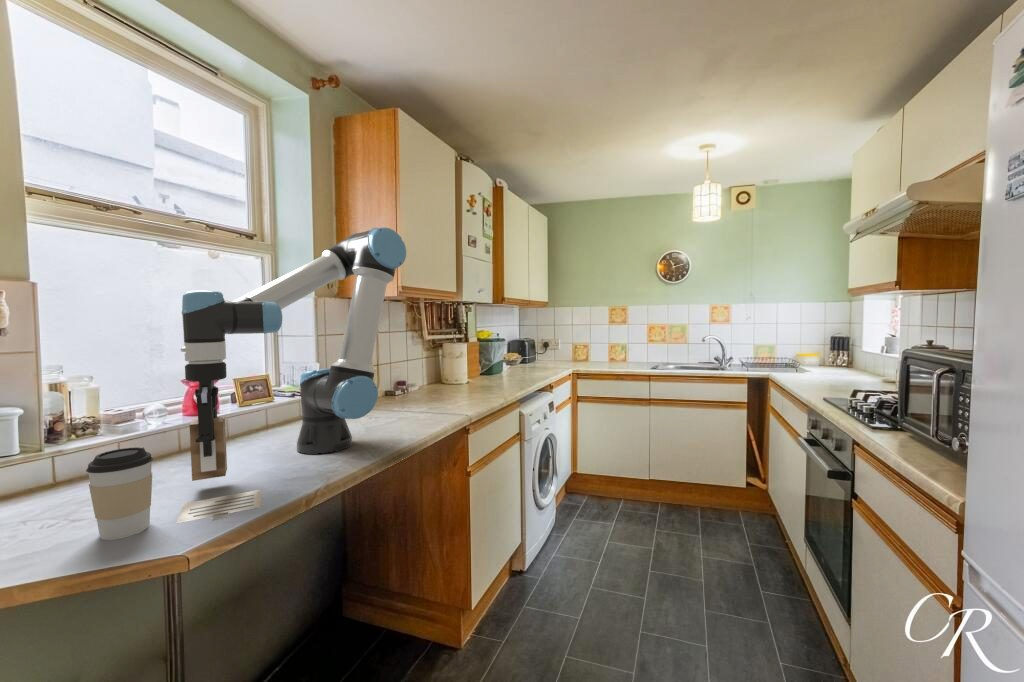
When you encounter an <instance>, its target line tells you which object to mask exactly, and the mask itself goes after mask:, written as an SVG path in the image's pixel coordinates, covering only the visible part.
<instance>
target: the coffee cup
mask: <svg viewBox="0 0 1024 682" xmlns="http://www.w3.org/2000/svg"><path fill="white" fill-rule="evenodd" d="M153 461H154V458H153V457H152V454H151V453H150V452H149V451H147V450H146V449H145V448H144V447H137V446H136V447H125V448H119V449H113V450H108V451H105V452H101V453H99V454H96V455H95V457H94V458H93V459H92V461H91V462H89V463H88V464H87V469H86V470H85V471H86V472H87V473H88V478H89V479H88V480H89V484H88V486H89V487H88V488H89V493H90V497H91V504H92V507H93V514H94V518H95V519H96V525H97V527H98V534H99V538H100V539H101V540H103V541H105V540H106V541H112V540H114V541H115V540H119V539H125V538H127V537H132V536H134V535H136V534H139V533H142V532H143V531H145V530H147V529H148V528H149V527H150V525H151V521H150V519H151V505H152V490H153V471H152V462H153Z"/></svg>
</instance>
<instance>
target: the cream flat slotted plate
mask: <svg viewBox="0 0 1024 682" xmlns="http://www.w3.org/2000/svg"><path fill="white" fill-rule="evenodd" d="M262 507H263V489H262V488H261V489H256V490H251V491H245V492H244V491H243V492H240V493H239V492H238V493H233V494H229V495H223V496H217V497H212V498H206V499H200V500H194V501H189V502H184V503H183V505H182V507H181V510H180V512H179V515H178V517H177V520H176V522H175V524H180V523H181V524H182V523H186V522H191V521H197V520H201V519H205V518H206V519H208V518H211V517H212V519H211V520H212V521H213V522H214V521H219V520H224V519H227V518H228V514H233V513H237V512H243V511H248V510H253V509H258V508H262Z"/></svg>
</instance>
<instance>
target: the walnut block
mask: <svg viewBox="0 0 1024 682" xmlns="http://www.w3.org/2000/svg"><path fill="white" fill-rule="evenodd" d="M203 435H204V434H203ZM226 435H227V433H226V416H220V417H219V416H217V418H214V436H215V446H216V470H213V471H206V472H201V458H200V442H196V439H198V437H199V430H198V418H197V419H192V420H191V422H190V424H189V439H190V440H189V443H190V445H189V446H190V463H191V464H190V465H191V481H192V482H193V481H201V480H207V479H215V478H220V477H221V478H222V477H226V475H227V472H228V460H227V459H228V458H227V456H228V455H227V436H226Z"/></svg>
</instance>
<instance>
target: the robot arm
mask: <svg viewBox="0 0 1024 682" xmlns="http://www.w3.org/2000/svg"><path fill="white" fill-rule="evenodd" d="M406 258H407V247H406V245H405V241H403V238H402V237H401V235H400V234H399V233H398V232H396V231H395V230H394V229H392V228H390V227H374V228H372V229H370V230H369V229H368V230H366V231H362V232H357V233H354V234H351V235H349V236H348V237H346V238H344V239H342V240H341V241H339V242H337V243H336V244H335V245H333V246H331V247H329V248H327V249H325V250H324V251H322V253H321V256H319V257H317V258H315V259H314V260H311V261H310V262H308V263H306V264H304V265H302V266H300V267H298V268H296V269H294V270H292V271H290V272H287V273H286V274H284V275H282V276H279V277H278V278H276V279H274V280H272V281H270V282H268V283H266V284H264V285H263V286H260V287H258V288H256V289H254V290H252V291H249V292H248V293H246V294H244V295H243V296H241V297H238V298H236V299H234V300H233V301H231V300H225V298H224V294H223V293H222V292H221V291H212V290H190V291H186V292H184V293H183V295H182V303H181V304H182V305H181V308H182V309H181V314H182V328H183V331H182V332H183V346H184V347H183V346H182V347H181V348H180V352H182V353H184V361H185V362H188V363H186V364H185V365H184V375H185V376H184V377H185V378H184V379H185V380H186V381H187V382H198V388H196V389H195V391H194V394H195V395H194V396H195V398H196V409H197V419H198V430H199V437H198V439H196V442H200V458H201V472H206V471H213V470H216V446H215V436H214V418H217V417H218V411H217V410H218V403H219V402H218V399H219V398H218V395H219V387H218V386H216V385H215V381H220V380H224V379H226V378H227V363H226V362H225V361H224V360H226V359H227V351H226V348H227V344H226V335H234V334H235V335H236V334H237V335H238V334H240V335H243V334H249V335H250V334H252V335H253V334H264V335H265V334H274V333H277V332H279V331H280V329H281V327H282V325H283V313H282V310H284V309H285V308H286V307H287V308H288V306H290V305H292V304H294V303H296V302H298V301H299V300H301V299H303V298H304V297H307V296H308V295H310V294H312V293H313V292H316V291H317V290H319V289H322V288H323V287H325V286H326V285H328V284H330V283H332V282H334V281H336V280H337V281H342V280H344V279H346V278H348V277H351V276H353V275H354V276H355V282H354V286H353V290H352V295H351V299H350V305H349V309H348V313H347V318H346V322H345V328H344V332H343V337H342V342H341V347H340V350H339V355H338V359H337V361H335V362H333V363H332V364H331V365H330V368H323V369H315V370H307V371H303V372H302V373H301V374H300V380H299V387H300V403H301V419H302V422H301V427H300V430H299V434H298V437H297V440H296V451H297V452H298V453H300V452H301V453H300V454H304V453H306V454H307V455H318V453H322V454H328V453H327V452H330V453H334V452H333V451H335V452H338V451H337V450H339V451H342V450H341V449H343V450H345V449H344V448H346V447H348V446H350V445H351V446H352V445H353V436H352V433H351V431H350V428H349V426H348V423H347V421H346V419H347V420H357V419H361V418H364V417H365V416H367V415H368V414H369V413H371V411H372V410H373V409H374V408H375V406H376V404H377V402H378V399H379V398H378V397H379V390H378V387H377V386H376V383H375V381H374V376H375V370H374V369H373V368H372V366H371V364H372V359H373V354H374V350H375V343H376V339H377V335H378V331H379V330H378V329H379V324H380V320H381V316H382V310H383V305H384V301H385V296H386V291H387V290H386V289H387V286H388V284H389V283H391V282H392V281H393V282H394V280H395V273H396V270H397V269H398V268H400V267H401V266H402V265H403V264H404V263H405V262H406ZM203 434H204V435H203ZM351 446H350V447H351ZM348 448H349V447H348ZM346 449H347V448H346ZM306 454H305V455H306Z"/></svg>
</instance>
